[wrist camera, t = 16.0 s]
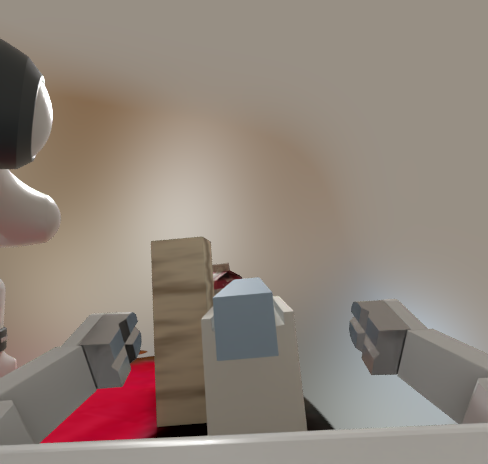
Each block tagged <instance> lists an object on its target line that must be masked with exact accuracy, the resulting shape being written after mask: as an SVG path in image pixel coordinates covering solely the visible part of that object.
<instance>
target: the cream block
mask: <svg viewBox="0 0 488 464" xmlns="http://www.w3.org/2000/svg"><path fill="white" fill-rule="evenodd" d="M273 305H274V315H275V324H276V334H277V344H278V353H279V356H271V357H259V358H248V359H236V360H224V361H217V355H216V340H215V326H214V311H213V307H212V308H211V309H210V310H209V311H208V312H207V313H206V314H205V315H204V316H203V318H202V319H201V330H202V347H203V364H204V380H205V397H206V414H207V430H208V436H214V435H236V434H257V433H279V432H300V431H307V424H306V416H305V407H304V398H303V390H302V381H301V372H300V363H299V354H298V345H297V337H296V328H295V319H294V311H293V310H292V309H291V308H290V307H289V306H288V305H287V304H286V303H285V302H284V301H283V300H282V299H281V298H280V297H279V296H273Z"/></svg>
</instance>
